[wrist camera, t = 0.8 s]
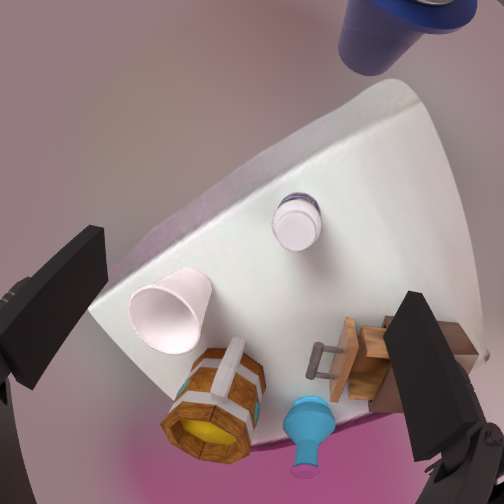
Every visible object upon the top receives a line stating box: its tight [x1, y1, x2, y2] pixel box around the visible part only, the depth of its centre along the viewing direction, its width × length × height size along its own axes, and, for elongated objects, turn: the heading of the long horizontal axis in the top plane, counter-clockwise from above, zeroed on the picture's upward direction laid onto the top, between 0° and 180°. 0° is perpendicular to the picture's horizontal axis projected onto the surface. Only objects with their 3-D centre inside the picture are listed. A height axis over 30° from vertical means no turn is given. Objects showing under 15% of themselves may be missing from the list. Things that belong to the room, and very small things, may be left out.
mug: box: [160, 336, 266, 464], centre depth 42 cm, size 20×14×15 cm
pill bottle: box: [272, 192, 322, 252], centre depth 34 cm, size 5×5×10 cm
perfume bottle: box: [283, 397, 335, 479], centre depth 42 cm, size 9×9×15 cm
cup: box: [128, 267, 212, 355], centre depth 40 cm, size 10×10×11 cm
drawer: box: [306, 318, 390, 402], centre depth 39 cm, size 17×11×7 cm, turn 85°
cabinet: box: [368, 316, 479, 413], centre depth 38 cm, size 14×12×9 cm
